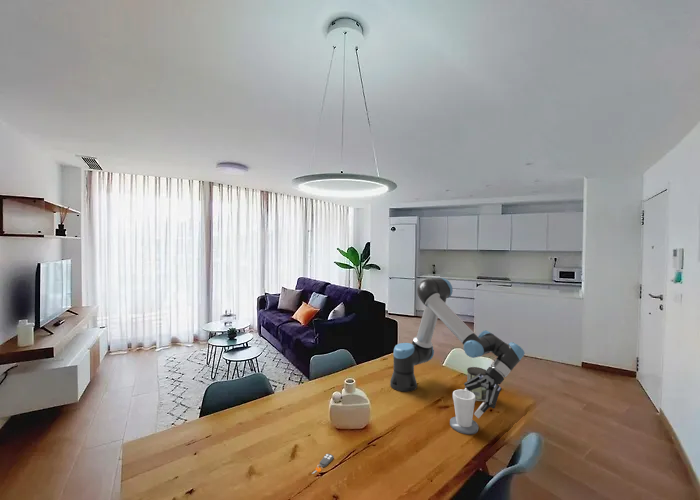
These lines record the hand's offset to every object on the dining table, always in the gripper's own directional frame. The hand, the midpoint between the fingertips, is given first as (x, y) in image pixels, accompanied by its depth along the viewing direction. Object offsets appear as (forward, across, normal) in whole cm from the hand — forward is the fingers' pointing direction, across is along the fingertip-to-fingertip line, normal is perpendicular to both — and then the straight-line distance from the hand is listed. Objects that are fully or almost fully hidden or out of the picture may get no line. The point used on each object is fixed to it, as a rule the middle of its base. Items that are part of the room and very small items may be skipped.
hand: (467, 408), depth 137 cm
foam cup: (+6, 0, -4) cm, 7 cm away
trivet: (+7, 0, -5) cm, 8 cm away
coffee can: (-9, +24, -21) cm, 33 cm away
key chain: (+53, -14, +41) cm, 69 cm away
